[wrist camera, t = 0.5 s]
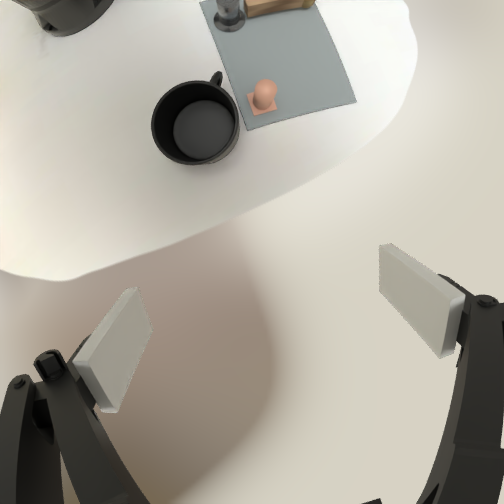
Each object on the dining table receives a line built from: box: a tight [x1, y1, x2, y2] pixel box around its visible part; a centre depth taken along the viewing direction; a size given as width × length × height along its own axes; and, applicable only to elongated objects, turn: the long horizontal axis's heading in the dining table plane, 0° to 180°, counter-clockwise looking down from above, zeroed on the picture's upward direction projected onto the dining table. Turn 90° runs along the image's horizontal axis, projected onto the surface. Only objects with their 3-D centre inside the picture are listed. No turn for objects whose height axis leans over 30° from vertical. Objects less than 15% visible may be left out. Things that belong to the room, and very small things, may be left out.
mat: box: [199, 0, 357, 130], centre depth 33 cm, size 22×16×1 cm
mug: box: [151, 71, 240, 165], centre depth 32 cm, size 9×12×9 cm
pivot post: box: [214, 0, 245, 33], centre depth 28 cm, size 4×4×8 cm
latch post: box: [246, 79, 277, 116], centre depth 32 cm, size 3×3×8 cm
